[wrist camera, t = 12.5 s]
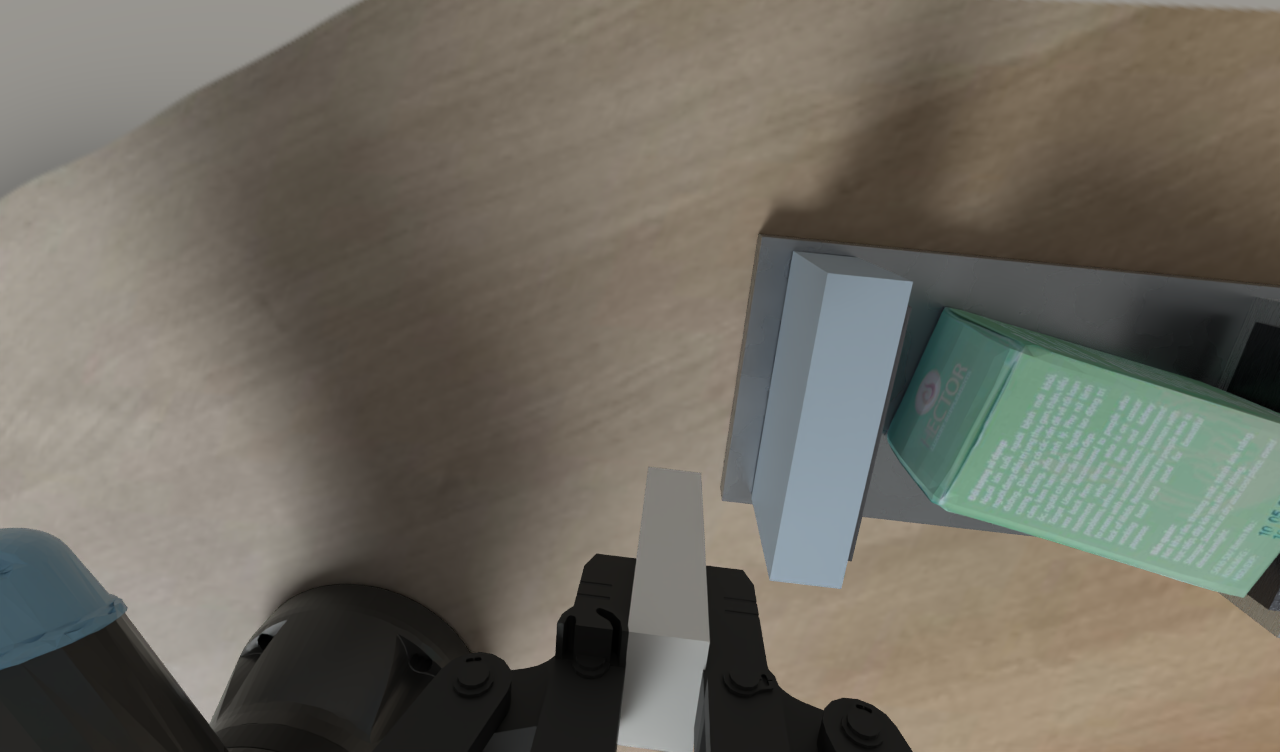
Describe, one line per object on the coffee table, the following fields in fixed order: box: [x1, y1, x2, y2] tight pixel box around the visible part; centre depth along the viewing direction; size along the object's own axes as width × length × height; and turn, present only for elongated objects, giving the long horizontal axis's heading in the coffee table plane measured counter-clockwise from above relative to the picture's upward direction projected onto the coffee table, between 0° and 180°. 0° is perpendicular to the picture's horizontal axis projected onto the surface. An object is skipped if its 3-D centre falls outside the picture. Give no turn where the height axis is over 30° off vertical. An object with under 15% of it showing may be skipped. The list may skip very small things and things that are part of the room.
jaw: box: [752, 251, 913, 589], centre depth 27 cm, size 3×13×7 cm, turn 175°
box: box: [887, 307, 1280, 598], centre depth 26 cm, size 7×14×8 cm, turn 74°
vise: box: [720, 234, 1280, 638], centre depth 27 cm, size 26×14×8 cm, turn 85°
